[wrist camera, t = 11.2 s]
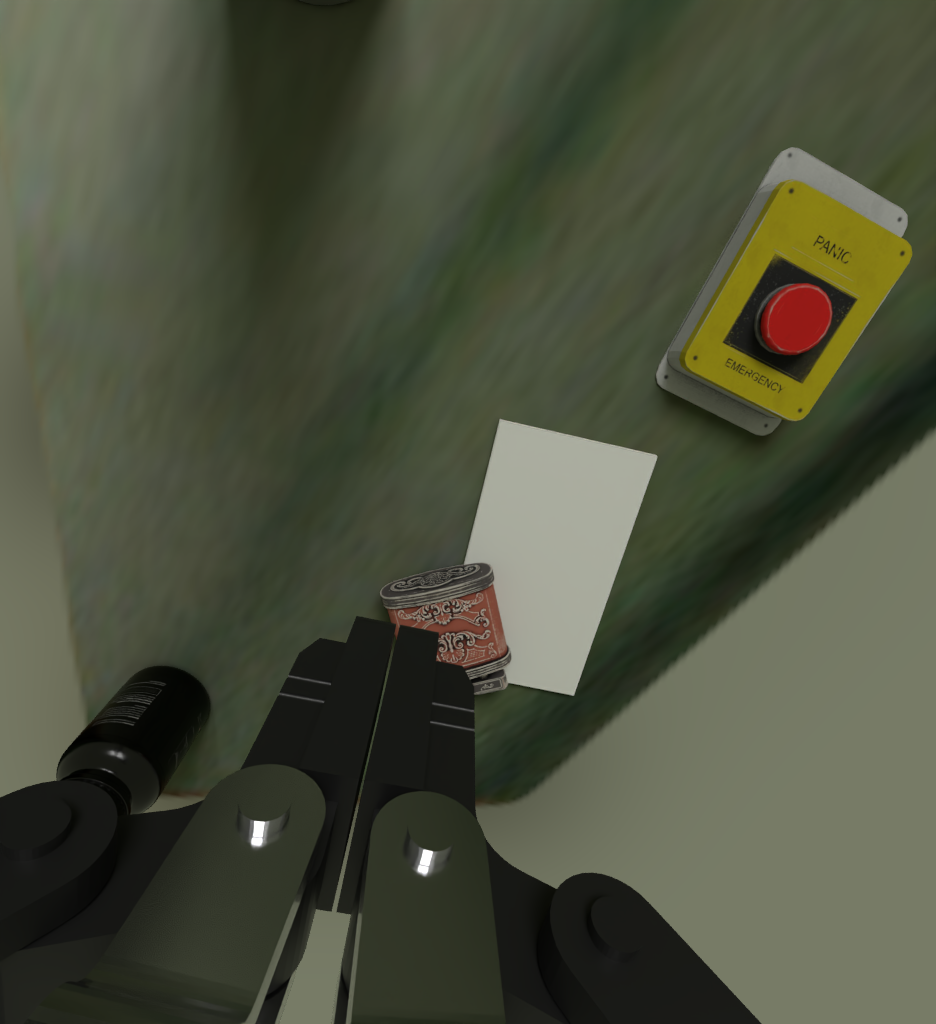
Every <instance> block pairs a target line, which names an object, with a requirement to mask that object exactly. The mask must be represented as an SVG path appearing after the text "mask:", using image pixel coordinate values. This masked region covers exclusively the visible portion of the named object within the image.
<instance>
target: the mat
mask: <svg viewBox="0 0 936 1024" xmlns="http://www.w3.org/2000/svg"><path fill="white" fill-rule="evenodd" d="M657 457H658V456H656V455H654V454H650V453H646V452H641V451H637V450H633V449H628V448H624V447H619V446H615V445H611V444H606V443H602V442H598V441H593V440H589V439H585V438H580V437H576V436H571V435H567V434H563V433H558V432H554V431H550V430H545V429H541V428H537V427H532V426H528V425H523V424H519V423H515V422H510V421H506V420H502V419H499V423H498V427H497V431H496V435H495V439H494V443H493V447H492V452H491V456H490V460H489V464H488V468H487V472H486V476H485V480H484V484H483V488H482V492H481V496H480V500H479V504H478V508H477V512H476V516H475V520H474V524H473V528H472V532H471V536H470V540H469V544H468V548H467V553H466V557H465V561H464V565H465V564H472V563H482V562H483V563H488V564H490V565H491V566H492V569H493V574H494V582H493V585H494V590H495V594H496V599H497V603H498V608H499V612H500V617H501V621H502V626H503V630H504V635H505V639H506V644H507V645H508V646H509V648H510V651H511V656H512V660H511V662H510V664H509V665H508V666H507V667H505V668H503V669H504V670H505V673H506V678H507V682H508V683H512V684H517V685H522V686H527V687H532V688H537V689H543V690H548V691H553V692H558V693H563V694H568V695H573V696H574V693H575V690H576V688H577V685H578V682H579V679H580V676H581V673H582V670H583V668H584V665H585V662H586V659H587V656H588V653H589V651H590V648H591V645H592V642H593V639H594V636H595V633H596V631H597V628H598V625H599V622H600V619H601V616H602V613H603V611H604V608H605V605H606V602H607V599H608V596H609V594H610V591H611V588H612V585H613V582H614V579H615V576H616V574H617V571H618V568H619V565H620V562H621V559H622V557H623V554H624V551H625V548H626V545H627V542H628V539H629V537H630V534H631V531H632V528H633V525H634V522H635V519H636V517H637V514H638V511H639V508H640V505H641V502H642V500H643V497H644V494H645V491H646V488H647V485H648V482H649V480H650V477H651V474H652V471H653V468H654V465H655V463H656V460H657Z"/></svg>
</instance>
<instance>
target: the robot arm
mask: <svg viewBox="0 0 936 1024" xmlns="http://www.w3.org/2000/svg"><path fill="white" fill-rule="evenodd" d="M299 1H303V2H306V3H310V4H313V5H335V4H339V3H343V2H347V1H350V0H299ZM395 629H396V624H394V623H389V622H384V621H379V620H374V619H369V618H364V617H359V616H357V617H356V619H355V621H354V624H353V627H352V629H351V632H350V635H349V637H348V640H347V642H346V643H343V642H338V641H333V640H327V639H322V638H320V639H318V640H317V641H315V642H314V643H313V644H311V645H310V646H308V647H307V648H306V649H304V650H303V651H302V652H300V653H299V655H298V657H297V659H296V661H295V663H294V665H293V667H292V669H291V671H290V673H289V676H288V678H287V679H286V681H285V683H284V685H283V687H282V689H281V691H280V694H279V696H278V697H277V699H276V701H275V703H274V705H273V707H272V709H271V711H270V713H269V715H268V717H267V719H266V721H265V723H264V725H263V727H262V729H261V731H260V733H259V735H258V737H257V738H256V740H255V742H254V744H253V746H252V748H251V750H250V752H249V754H248V756H247V758H246V760H245V762H244V764H243V766H242V768H241V769H240V770H239V771H236V772H235V773H233V774H231V775H229V776H227V777H226V778H224V779H223V780H221V781H220V782H219V783H218V784H217V785H216V786H215V787H214V788H213V789H212V790H211V791H210V792H209V794H208V795H207V796H206V798H205V799H204V800H203V801H200V802H198V803H196V804H193V805H190V806H186V807H183V808H179V809H174V810H167V811H159V812H149V813H140V814H131V815H122V816H118V815H117V809H116V805H115V803H114V801H113V799H112V798H111V797H110V796H109V795H108V793H107V792H105V791H104V790H102V789H101V788H99V787H97V786H95V785H92V784H90V783H85V782H81V781H70V780H63V781H51V782H45V783H40V784H36V785H32V786H28V787H25V788H23V789H20V790H17V791H15V792H12V793H10V794H7V795H5V796H3V797H0V1024H279V1023H280V1020H281V1017H282V1014H283V1011H284V1007H285V1005H286V1002H287V999H288V996H289V993H290V990H291V987H292V984H293V981H294V977H295V973H296V970H297V967H298V965H299V963H300V961H301V959H302V957H303V954H304V952H305V949H306V945H307V941H308V938H309V934H310V930H311V926H312V922H313V918H314V914H315V910H316V909H319V910H325V911H332V907H333V903H334V899H335V894H336V890H337V885H338V881H339V877H340V873H341V868H342V864H343V860H344V856H345V851H346V846H347V843H348V838H349V834H350V830H351V826H352V821H353V817H354V812H355V808H356V804H357V800H358V795H359V791H360V787H361V783H362V778H363V774H364V770H365V765H366V761H367V757H368V753H369V748H370V744H371V740H372V735H373V731H374V727H375V722H376V718H377V713H378V709H379V704H380V700H381V695H382V690H383V686H384V681H385V676H386V671H387V667H388V662H389V657H390V652H391V648H392V643H393V638H394V634H395ZM438 640H439V632H435V631H430V630H425V629H420V628H415V627H410V626H405V625H400V626H399V631H398V635H397V640H396V644H395V648H394V653H393V657H392V662H391V666H390V670H389V675H388V679H387V684H386V688H385V692H384V697H383V701H382V706H381V710H380V714H379V719H378V723H377V727H376V732H375V736H374V741H373V745H372V749H371V754H370V758H369V763H368V767H367V771H366V776H365V780H364V785H363V790H362V794H361V799H360V804H359V809H358V813H357V818H356V823H355V827H354V832H353V837H352V842H351V846H350V851H349V856H348V860H347V865H346V870H345V875H344V879H343V884H342V889H341V894H340V898H339V903H338V907H337V912H340V913H345V914H351V918H350V923H349V928H348V933H347V938H346V944H345V948H344V954H343V958H342V963H341V967H340V971H339V976H338V980H337V985H336V992H335V1000H334V1007H333V1015H332V1022H331V1024H761V1023H760V1022H759V1020H758V1019H757V1018H755V1016H754V1015H753V1014H752V1013H751V1012H750V1011H749V1010H748V1009H747V1008H746V1007H745V1005H744V1004H743V1003H742V1002H741V1001H740V1000H739V999H738V998H737V997H736V996H735V995H734V994H733V993H732V992H731V990H729V988H728V987H727V986H726V985H725V984H724V983H723V982H722V981H721V980H720V979H719V978H718V977H717V975H716V974H715V973H714V972H713V971H712V970H711V969H710V968H709V967H708V966H707V965H706V964H705V963H704V962H703V960H702V959H701V958H700V957H699V956H698V955H697V954H696V953H695V952H694V951H693V950H692V949H691V948H690V946H689V945H688V944H687V943H686V942H685V941H684V940H683V939H682V938H681V937H680V936H679V935H678V934H677V932H676V931H674V929H673V928H672V927H671V926H670V925H669V924H668V923H667V922H666V921H665V920H664V919H663V918H662V916H661V915H660V914H659V913H658V912H657V911H656V910H655V909H654V908H653V907H652V906H651V905H650V904H649V902H647V901H646V900H645V899H644V898H643V897H642V896H641V895H640V894H639V893H638V892H636V891H635V890H633V889H632V888H631V887H630V886H628V885H626V884H625V883H623V882H621V881H619V880H617V879H614V878H612V877H610V876H606V875H603V874H597V873H581V874H578V875H575V876H572V877H570V878H568V879H566V880H565V881H564V882H563V883H562V884H561V885H560V886H559V887H558V889H555V888H553V887H551V886H549V885H548V884H545V883H543V882H541V881H540V880H538V879H536V878H534V877H532V876H530V875H528V874H526V873H524V872H522V871H520V870H519V869H517V868H515V867H514V866H512V865H510V864H509V863H508V862H507V861H505V860H504V859H503V858H502V857H501V856H500V855H499V854H498V853H497V852H496V851H494V849H493V848H492V847H491V845H490V844H489V843H488V842H487V840H486V838H485V836H484V834H483V831H482V829H481V826H480V825H479V823H478V821H477V817H476V812H475V811H476V810H475V732H474V728H475V725H474V685H473V684H472V682H471V680H470V678H469V677H468V675H467V673H466V671H465V669H464V668H463V666H461V665H455V664H450V663H445V662H440V661H436V660H437V650H438Z"/></svg>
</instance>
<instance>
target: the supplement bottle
mask: <svg viewBox="0 0 936 1024" xmlns="http://www.w3.org/2000/svg"><path fill="white" fill-rule="evenodd" d="M209 711H210V701H209V697H208V694H207V692H206V690H205V688H204V687H203V685H202V684H201V683H200V682H199V681H198V680H197V679H196V678H195V677H194V676H192V675H191V674H189V673H188V672H186V671H183V670H181V669H178V668H175V667H170V666H153V667H149V668H146V669H143V670H141V671H139V672H137V673H136V674H134V675H133V676H132V677H131V678H130V679H129V680H128V681H127V682H126V683H125V684H124V685H123V686H122V688H121V689H120V690H119V691H118V692H117V693H116V694H115V695H114V697H113V698H112V699H111V700H110V701H109V702H108V703H107V704H106V706H105V707H104V708H103V709H102V710H101V711H100V712H99V713H98V714H97V716H96V717H95V718H94V719H93V720H92V721H91V722H90V723H89V725H88V726H87V727H86V728H85V729H84V730H83V731H82V732H81V734H80V735H79V736H78V737H77V738H76V739H75V740H74V741H73V743H72V744H71V745H70V746H69V747H68V749H67V750H66V751H65V752H64V753H63V755H62V757H61V759H60V761H59V763H58V767H57V774H56V778H57V781H63V780H70V781H81V782H85V783H90V784H92V785H95V786H97V787H99V788H101V789H102V790H104V791H105V792H107V793H108V795H109V796H110V797H111V798H112V799H113V801H114V803H115V805H116V809H117V815H118V816H122V815H131V814H140V813H143V812H144V811H146V810H147V809H149V808H150V807H151V806H152V805H153V804H154V803H155V802H156V800H157V799H158V797H159V796H160V795H161V793H162V791H163V790H164V788H165V787H166V785H167V783H168V782H169V780H170V779H171V777H172V775H173V774H174V772H175V770H176V769H177V767H178V766H179V764H180V762H181V761H182V759H183V758H184V756H185V754H186V753H187V751H188V749H189V748H190V746H191V745H192V743H193V741H194V740H195V738H196V737H197V735H198V733H199V732H200V730H201V728H202V727H203V725H204V723H205V721H206V720H207V717H208V715H209Z"/></svg>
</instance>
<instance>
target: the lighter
mask: <svg viewBox="0 0 936 1024" xmlns="http://www.w3.org/2000/svg"><path fill="white" fill-rule="evenodd" d="M493 582H494V574H493V569H492V566H491V565H490V564H488V563H483V562H482V563H472V564H465V565H458V566H452V567H447V568H442V569H437V570H433V571H429V572H425V573H421V574H417V575H413V576H410V577H407V578H403V579H400V580H397V581H394V582H391V583H389V584H387V585H386V586H384V587H383V588H382V589H381V591H380V595H381V598H382V602H383V605H384V607H386V608H387V610H388V613H389V617H390V620H391V623H394V624H396V629H395V637H396V640H397V635H398V631H399V626H400V625H405V626H410V627H415V628H420V629H425V630H430V631H435V632H439V640H438V650H437V660H436V661H440V662H445V663H450V664H455V665H461V666H463V668H464V669H465V671H466V673H467V675H468V677H469V678H470V680H471V682H472V684H473V685H474V695H475V694H478V695H480V694H485V693H489V692H494V691H499V690H503V689H505V688H506V687H507V685H508V682H507V678H506V673H505V670H504V669H503V668H505V667H507V666H508V665H509V664H510V662H511V660H512V656H511V651H510V648H509V646H508V645H507V644H506V639H505V635H504V630H503V626H502V621H501V617H500V612H499V608H498V603H497V599H496V594H495V590H494V585H493Z"/></svg>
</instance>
